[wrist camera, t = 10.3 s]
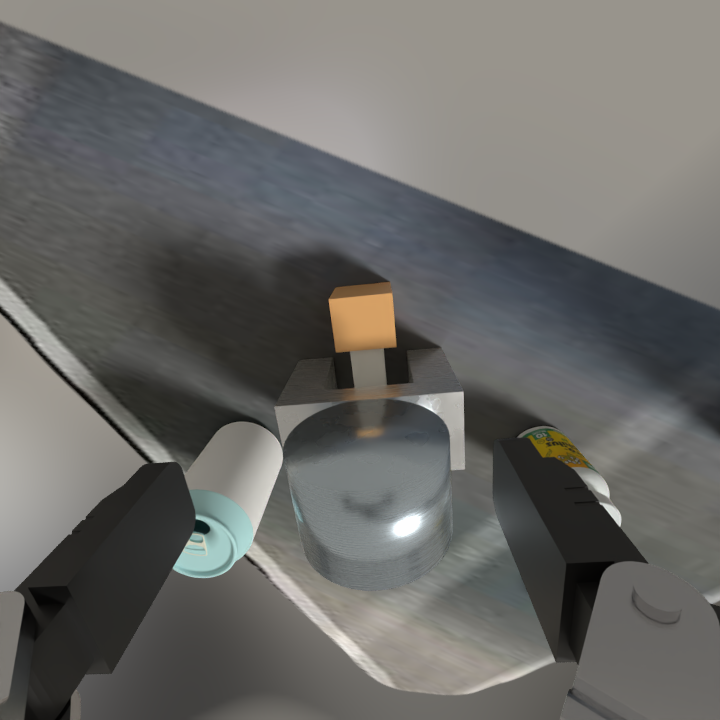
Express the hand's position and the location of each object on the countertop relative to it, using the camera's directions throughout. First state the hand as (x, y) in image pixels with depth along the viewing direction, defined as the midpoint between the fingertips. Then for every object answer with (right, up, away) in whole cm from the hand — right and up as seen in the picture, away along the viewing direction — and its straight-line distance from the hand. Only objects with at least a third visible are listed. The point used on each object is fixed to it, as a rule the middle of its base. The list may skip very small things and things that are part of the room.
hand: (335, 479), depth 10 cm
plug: (+2, 0, +25) cm, 25 cm away
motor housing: (+2, +1, +25) cm, 25 cm away
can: (-10, -6, +28) cm, 30 cm away
